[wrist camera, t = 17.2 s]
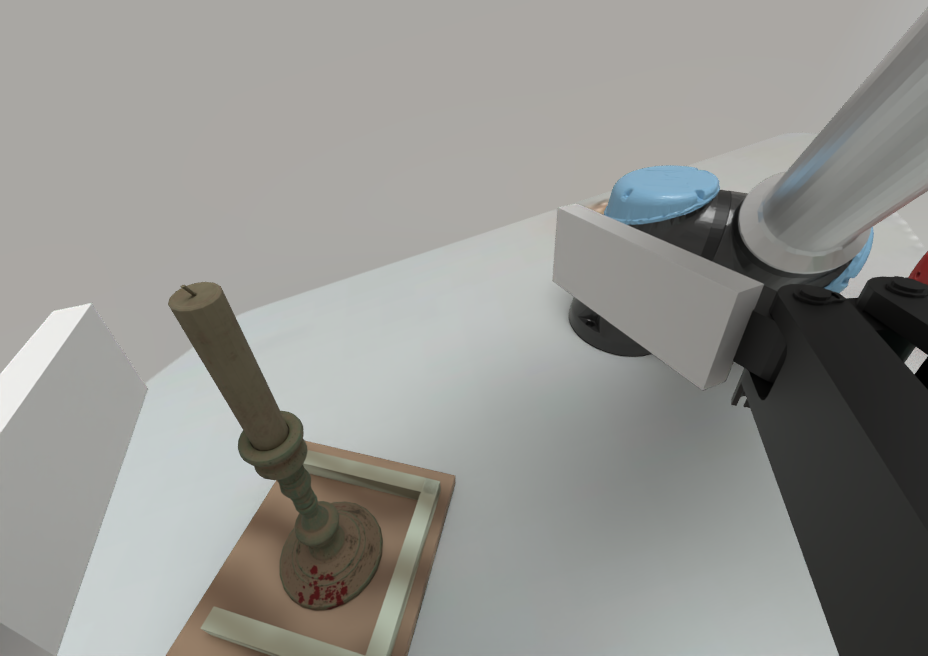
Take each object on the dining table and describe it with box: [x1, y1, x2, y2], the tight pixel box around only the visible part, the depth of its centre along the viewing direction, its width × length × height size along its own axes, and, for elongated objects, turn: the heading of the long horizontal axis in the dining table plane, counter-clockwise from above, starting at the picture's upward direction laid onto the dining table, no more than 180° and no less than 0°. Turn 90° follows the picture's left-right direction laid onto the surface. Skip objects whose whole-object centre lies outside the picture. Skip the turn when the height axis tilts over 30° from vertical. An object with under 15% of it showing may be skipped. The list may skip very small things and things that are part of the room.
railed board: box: [166, 441, 455, 656], centre depth 37 cm, size 20×18×4 cm
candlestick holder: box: [168, 282, 383, 610], centre depth 28 cm, size 9×9×30 cm
